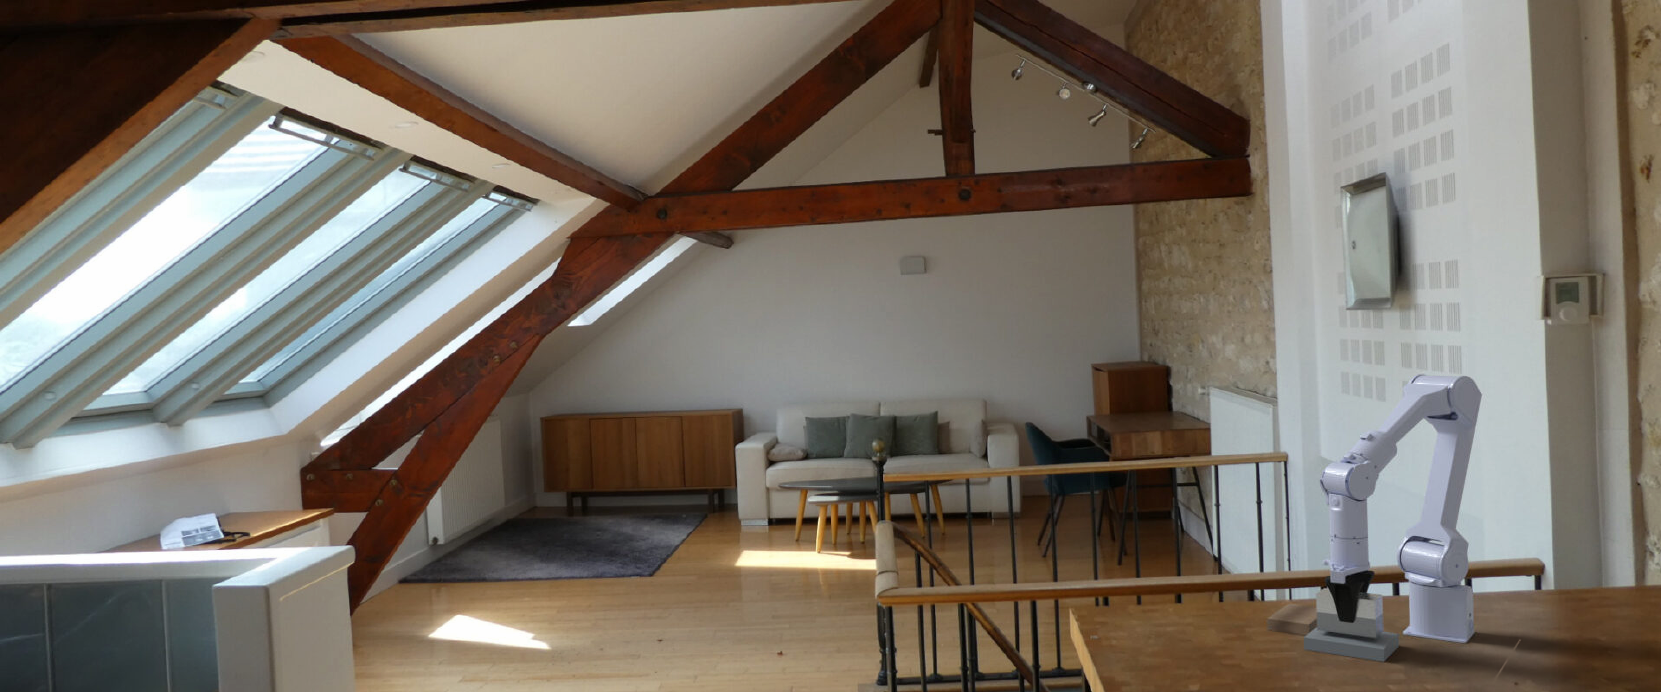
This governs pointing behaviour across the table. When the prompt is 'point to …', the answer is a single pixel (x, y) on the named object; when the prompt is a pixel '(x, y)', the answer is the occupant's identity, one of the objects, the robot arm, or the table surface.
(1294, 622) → the stand
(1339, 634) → the stand
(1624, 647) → the table surface
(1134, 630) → the table surface
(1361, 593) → the block
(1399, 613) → the table surface
